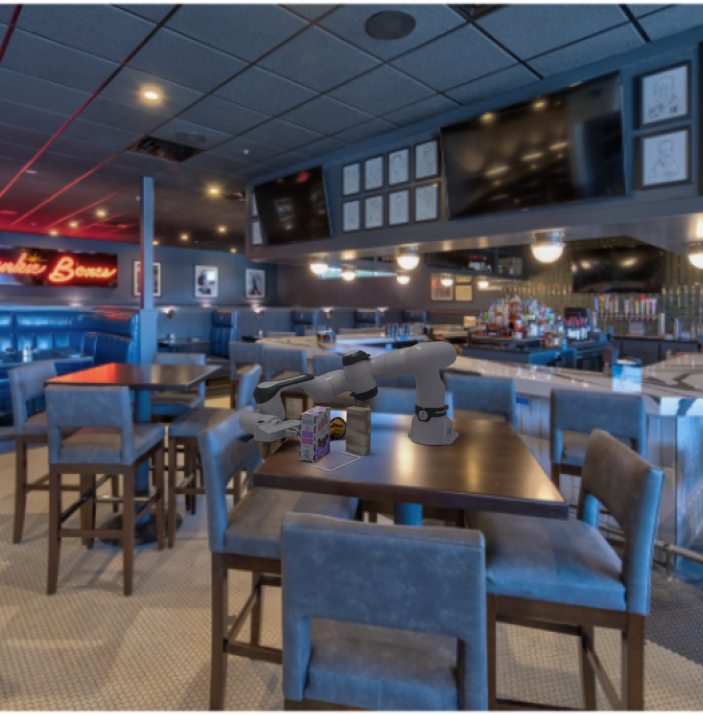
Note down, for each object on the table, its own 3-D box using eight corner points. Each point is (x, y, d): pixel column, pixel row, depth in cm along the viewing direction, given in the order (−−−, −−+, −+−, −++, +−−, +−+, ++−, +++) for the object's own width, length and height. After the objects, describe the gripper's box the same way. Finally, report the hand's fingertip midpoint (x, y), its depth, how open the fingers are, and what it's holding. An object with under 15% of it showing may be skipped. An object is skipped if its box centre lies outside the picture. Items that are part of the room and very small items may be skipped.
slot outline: (342, 452, 167) (342, 451, 167) (362, 457, 162) (362, 457, 162) (308, 465, 153) (308, 465, 153) (329, 472, 148) (329, 471, 148)
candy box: (314, 463, 156) (315, 415, 154) (298, 461, 158) (299, 413, 156) (330, 451, 169) (331, 406, 167) (315, 449, 171) (316, 405, 169)
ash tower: (352, 448, 172) (353, 406, 170) (370, 452, 168) (371, 409, 166) (345, 451, 169) (346, 407, 167) (363, 455, 164) (364, 411, 163)
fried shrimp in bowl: (357, 426, 186) (331, 420, 172) (343, 449, 187) (316, 445, 173) (342, 414, 191) (315, 407, 177) (329, 436, 192) (301, 431, 178)
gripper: (290, 429, 184) (317, 436, 176) (251, 441, 168) (278, 449, 159) (291, 414, 183) (317, 419, 175) (251, 424, 167) (278, 431, 159)
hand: (298, 433), depth 167 cm, fingers closed
